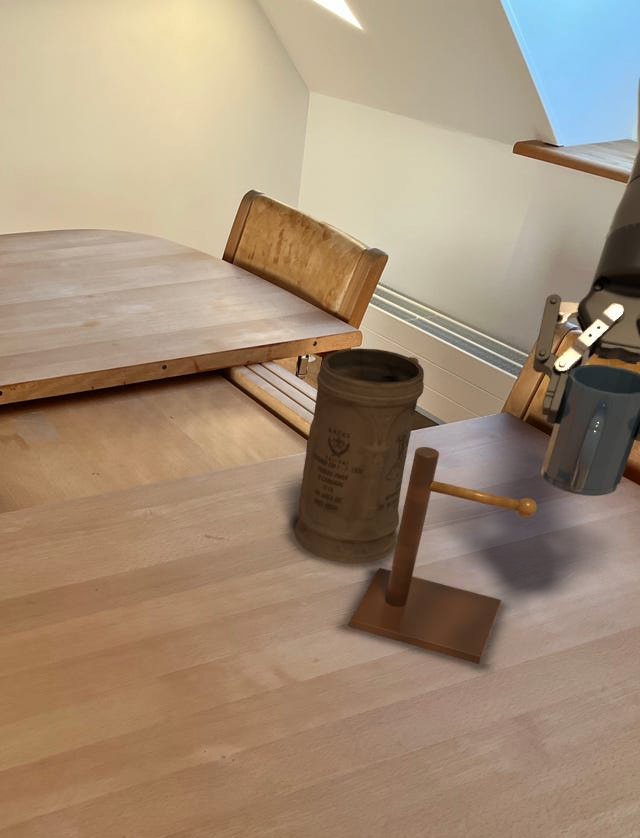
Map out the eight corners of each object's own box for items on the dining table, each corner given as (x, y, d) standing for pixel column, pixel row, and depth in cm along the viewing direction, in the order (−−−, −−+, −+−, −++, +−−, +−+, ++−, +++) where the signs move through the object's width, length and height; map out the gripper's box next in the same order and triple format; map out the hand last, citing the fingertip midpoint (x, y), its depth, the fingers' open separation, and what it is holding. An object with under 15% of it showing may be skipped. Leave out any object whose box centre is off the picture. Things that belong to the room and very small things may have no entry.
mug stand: (506, 614, 93) (554, 453, 83) (486, 672, 86) (536, 504, 76) (376, 580, 98) (407, 422, 87) (347, 632, 90) (377, 467, 80)
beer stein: (372, 583, 97) (413, 388, 86) (274, 552, 101) (302, 363, 90) (417, 526, 108) (459, 348, 97) (328, 500, 112) (358, 327, 101)
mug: (547, 455, 88) (574, 359, 82) (621, 471, 86) (655, 373, 80) (529, 502, 81) (558, 400, 75) (609, 521, 79) (646, 417, 73)
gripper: (568, 207, 80) (508, 392, 79) (760, 231, 75) (700, 429, 74) (560, 257, 87) (505, 428, 86) (735, 282, 82) (679, 464, 81)
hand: (595, 428), depth 80 cm, fingers closed on mug, 6 cm apart
